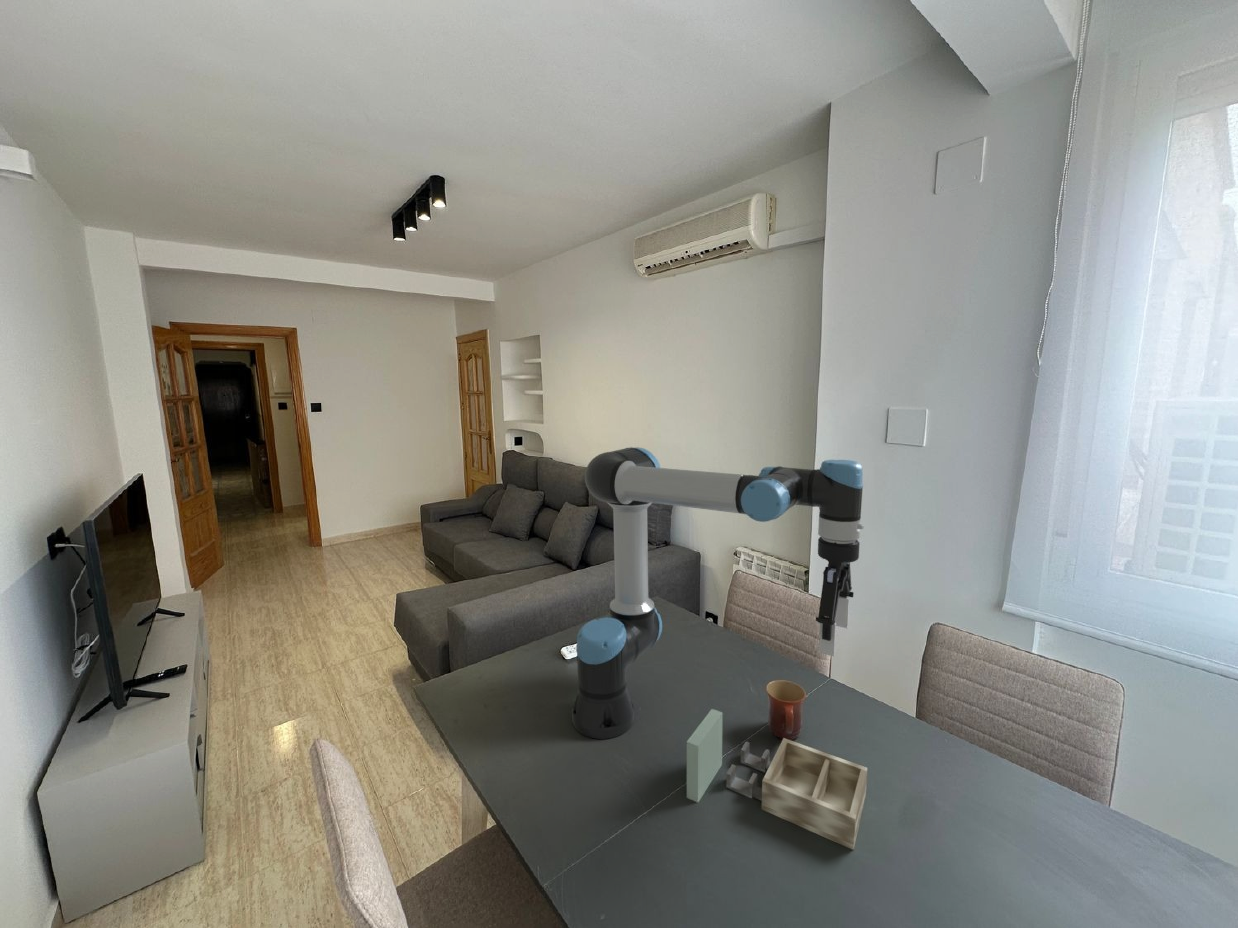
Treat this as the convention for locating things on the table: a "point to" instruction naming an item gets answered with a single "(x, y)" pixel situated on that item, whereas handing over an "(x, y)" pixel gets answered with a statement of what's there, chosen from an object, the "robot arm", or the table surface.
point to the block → (704, 755)
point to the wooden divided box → (807, 789)
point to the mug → (785, 708)
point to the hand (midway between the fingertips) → (834, 639)
